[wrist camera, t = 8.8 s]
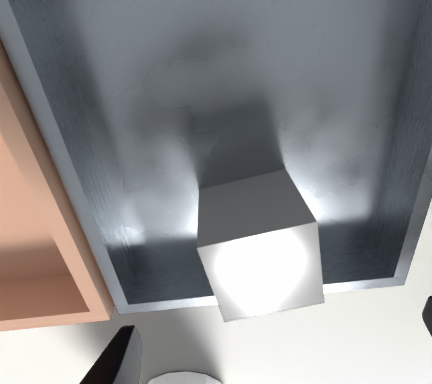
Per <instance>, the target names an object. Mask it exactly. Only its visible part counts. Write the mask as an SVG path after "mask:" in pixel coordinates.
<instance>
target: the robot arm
mask: <svg viewBox="0 0 432 384" xmlns="http://www.w3.org/2000/svg"><path fill="white" fill-rule="evenodd" d="M422 317H423V321H424V323H425V325H426V327H427V329H428V331H429V332H430V334H431V336H432V296H430V297H428V299H427V302H426V304H425V307H424V309H423V312H422ZM141 355H142V341H141V338H140V336H139V333H138V331H137V328H136V326H134V325H131V326H123V327H121V328H120V329H119V331H118V332H117V333H116V335H115V336H114V338H113V339H112V340H111V342H110V343H109V344H108V346H107V347H106V348H105V350H104V351H103V352H102V354H101V355H100V357H99V358H98V359H97V361H96V362H95V363H94V365H93V366H92V367H91V369H90V370H89V371H88V373H87V374H86V376H85V377H84V378H83V380H82V381H81V382H80V384H139V376H140V365H141Z"/></svg>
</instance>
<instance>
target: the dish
mask: <svg viewBox="0 0 432 384" xmlns="http://www.w3.org/2000/svg"><path fill="white" fill-rule="evenodd" d="M114 307H115V304H114V301H113V299H112V297H111V294H110V292H109V290H108V287H107V285H106V283H105V280H104V278H103V276H102V273H101V271H100V269H99V266H98V264H97V262H96V259H95V257H94V255H93V252H92V250H91V248H90V245H89V243H88V241H87V238H86V236H85V234H84V231H83V229H82V227H81V224H80V222H79V220H78V217H77V215H76V213H75V210H74V208H73V206H72V203H71V201H70V199H69V196H68V194H67V192H66V189H65V187H64V185H63V182H62V180H61V178H60V175H59V173H58V171H57V168H56V166H55V164H54V161H53V159H52V157H51V154H50V152H49V150H48V147H47V145H46V143H45V140H44V138H43V136H42V133H41V131H40V129H39V126H38V124H37V122H36V119H35V117H34V115H33V112H32V110H31V108H30V105H29V103H28V101H27V98H26V96H25V94H24V91H23V89H22V87H21V84H20V82H19V80H18V77H17V75H16V73H15V70H14V68H13V66H12V63H11V61H10V59H9V56H8V54H7V52H6V49H5V47H4V45H3V42H2V40H1V38H0V331H9V330H18V329H28V328H38V327H48V326H57V325H67V324H77V323H87V322H96V321H106V320H110V319H111V316H112V313H113V310H114Z"/></svg>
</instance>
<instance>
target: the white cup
mask: <svg viewBox="0 0 432 384" xmlns="http://www.w3.org/2000/svg"><path fill="white" fill-rule="evenodd" d="M147 384H221V382H220V381H218V380H216V379H214V378H212V377H210V376H208V375H206V374H201V373H197V372H188V371H185V372H174V373H166V374H164V375H161V376H158V377H156V378H153V379H151V380H150V381H149V382H148V383H147Z"/></svg>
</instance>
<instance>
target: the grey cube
mask: <svg viewBox="0 0 432 384" xmlns="http://www.w3.org/2000/svg"><path fill="white" fill-rule="evenodd" d="M197 250H198V253H199V256H200V258H201V261H202V264H203V266H204V269H205V272H206V274H207V277H208V280H209V282H210V285H211V288H212V290H213V293H214V296H215V298H216V301H217V304H218V306H219V309H220V312H221V314H222V317H223V320H224V322H228V321H233V320H238V319H244V318H249V317H254V316H259V315H264V314H269V313H275V312H280V311H285V310H290V309H295V308H300V307H306V306H311V305H316V304H321V303H325V302H324V291H323V280H322V269H321V257H320V246H319V235H318V224H317V220H316V219H315V217H314V215H313V214H312V212H311V210H310V209H309V207H308V205H307V204H306V202H305V200H304V199H303V197H302V195H301V194H300V192H299V190H298V189H297V187H296V185H295V184H294V182H293V180H292V179H291V177H290V175H289V174H288V172H287V170H286V169H284V170H280V171H275V172H271V173H267V174H263V175H259V176H255V177H250V178H246V179H242V180H238V181H234V182H230V183H225V184H221V185H217V186H213V187H209V188H205V189H200V190H199V201H198V228H197Z"/></svg>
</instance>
